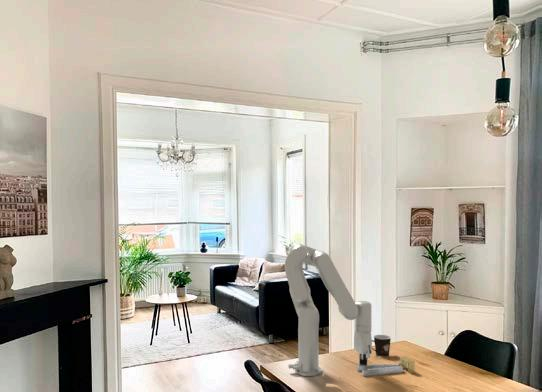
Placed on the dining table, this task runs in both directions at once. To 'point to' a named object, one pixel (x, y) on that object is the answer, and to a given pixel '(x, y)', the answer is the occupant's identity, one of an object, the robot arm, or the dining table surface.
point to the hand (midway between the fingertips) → (363, 367)
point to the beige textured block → (411, 364)
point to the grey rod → (375, 366)
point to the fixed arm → (382, 370)
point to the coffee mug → (382, 345)
